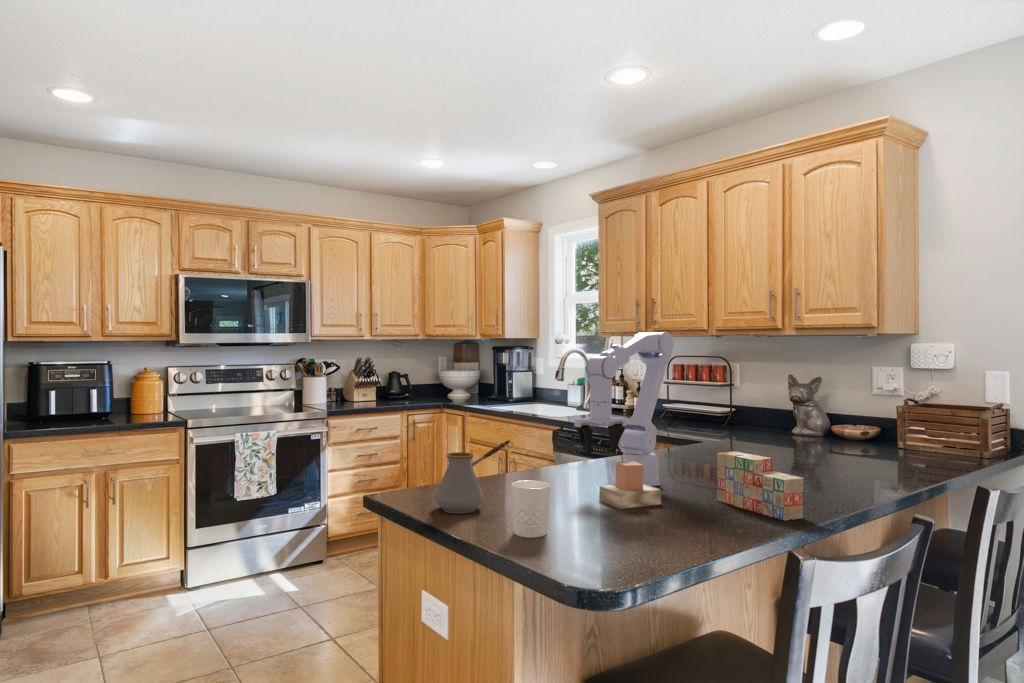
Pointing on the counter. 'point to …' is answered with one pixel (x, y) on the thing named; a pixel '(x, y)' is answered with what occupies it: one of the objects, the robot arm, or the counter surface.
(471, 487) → the coffee pot
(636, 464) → the terracotta block
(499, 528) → the counter surface
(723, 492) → the stack of blocks
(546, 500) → the white cup
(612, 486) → the birch block
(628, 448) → the robot arm
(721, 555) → the counter surface
